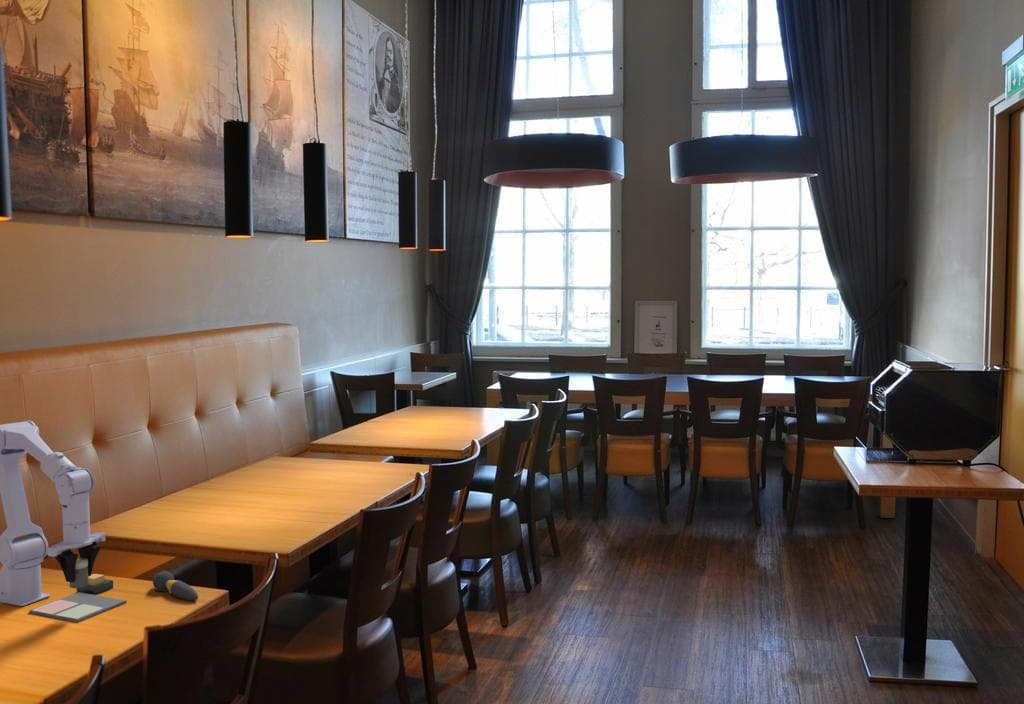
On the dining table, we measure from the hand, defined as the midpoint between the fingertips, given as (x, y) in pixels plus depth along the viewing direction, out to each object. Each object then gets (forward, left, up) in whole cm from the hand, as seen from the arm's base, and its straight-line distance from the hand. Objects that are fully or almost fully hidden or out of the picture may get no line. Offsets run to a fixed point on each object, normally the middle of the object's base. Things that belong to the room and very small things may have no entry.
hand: (78, 578), depth 210 cm
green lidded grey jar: (0, 0, -2) cm, 2 cm away
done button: (-11, +14, -7) cm, 19 cm away
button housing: (-11, +14, -9) cm, 20 cm away
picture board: (-4, +3, -9) cm, 10 cm away
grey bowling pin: (+10, +20, -9) cm, 24 cm away
